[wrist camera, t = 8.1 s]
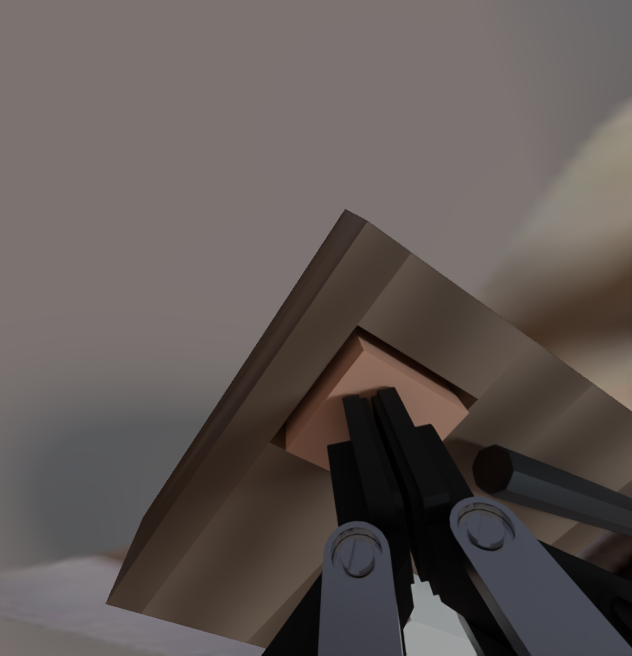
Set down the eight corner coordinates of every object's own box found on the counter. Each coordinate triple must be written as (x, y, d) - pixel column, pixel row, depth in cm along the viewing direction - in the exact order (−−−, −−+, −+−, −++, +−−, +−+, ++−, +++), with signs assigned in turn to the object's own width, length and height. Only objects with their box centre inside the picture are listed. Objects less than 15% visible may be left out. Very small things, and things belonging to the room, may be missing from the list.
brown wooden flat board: (610, 399, 17) (698, 459, 13) (384, 602, 22) (404, 686, 19) (345, 208, 13) (367, 221, 9) (143, 517, 18) (105, 603, 14)
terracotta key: (434, 367, 14) (469, 412, 11) (370, 441, 15) (388, 497, 12) (347, 314, 13) (363, 350, 10) (286, 398, 14) (285, 450, 11)
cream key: (457, 574, 17) (487, 646, 14) (403, 620, 18) (422, 695, 16) (391, 547, 16) (411, 620, 13) (339, 597, 17) (347, 674, 15)
